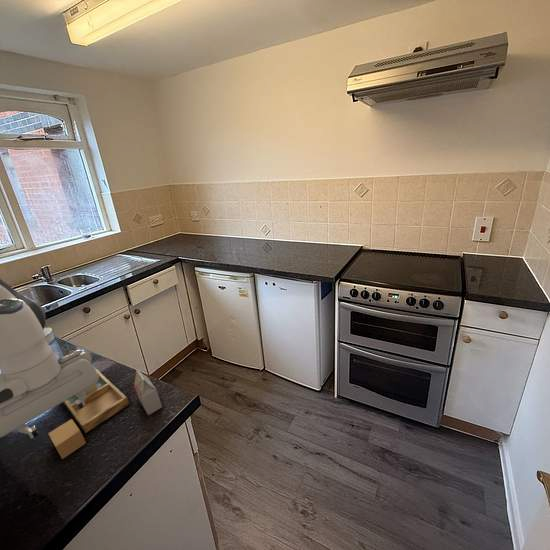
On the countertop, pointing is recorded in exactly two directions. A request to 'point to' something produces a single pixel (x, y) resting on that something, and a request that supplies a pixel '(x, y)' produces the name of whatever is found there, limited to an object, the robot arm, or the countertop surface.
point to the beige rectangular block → (90, 389)
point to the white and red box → (147, 393)
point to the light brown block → (67, 438)
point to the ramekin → (48, 335)
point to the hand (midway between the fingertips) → (59, 420)
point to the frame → (97, 404)
